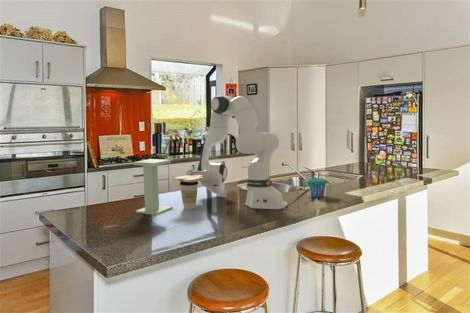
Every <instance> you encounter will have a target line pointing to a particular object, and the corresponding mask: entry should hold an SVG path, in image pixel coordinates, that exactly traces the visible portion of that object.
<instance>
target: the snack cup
mask: <svg viewBox="0 0 470 313" xmlns="http://www.w3.org/2000/svg"><path fill="white" fill-rule="evenodd" d="M306 183H307V184H308V187H309V192H310V196H311V198H323V197H324V196H325V190H326V183H328V184H329V192H331V189H332V186H331V182H330V181H329V180H327V179H326V178H321V177H311V178H308V179H307V180H306V181H305V182H304V183H303V190H304V192H305V191H306V188H305V186H306V185H305V184H306Z"/></svg>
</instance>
